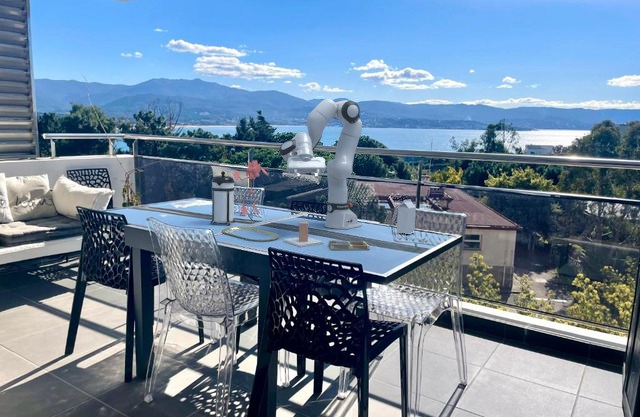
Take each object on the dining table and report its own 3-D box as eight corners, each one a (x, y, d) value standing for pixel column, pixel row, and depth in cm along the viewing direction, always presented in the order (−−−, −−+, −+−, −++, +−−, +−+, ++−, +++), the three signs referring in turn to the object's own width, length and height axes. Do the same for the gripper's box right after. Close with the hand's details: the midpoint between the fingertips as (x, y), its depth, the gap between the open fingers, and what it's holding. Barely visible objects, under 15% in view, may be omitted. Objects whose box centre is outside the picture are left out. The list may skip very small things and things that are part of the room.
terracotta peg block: (298, 239, 243) (299, 221, 242) (306, 239, 244) (307, 221, 243) (299, 241, 240) (300, 223, 238) (307, 241, 240) (308, 223, 239)
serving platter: (258, 244, 237) (258, 241, 237) (215, 232, 260) (215, 229, 260) (286, 239, 250) (286, 236, 250) (243, 228, 274) (243, 225, 274)
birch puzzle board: (328, 245, 238) (328, 238, 237) (364, 245, 241) (364, 238, 240) (331, 250, 229) (331, 243, 228) (369, 250, 232) (369, 242, 231)
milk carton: (414, 233, 274) (416, 200, 271) (407, 235, 269) (409, 201, 266) (403, 231, 279) (405, 198, 276) (396, 233, 273) (398, 199, 270)
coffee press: (242, 224, 281) (242, 172, 277) (215, 226, 272) (215, 172, 268) (229, 219, 295) (229, 169, 291) (203, 221, 286) (203, 170, 282)
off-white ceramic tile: (305, 238, 252) (305, 236, 252) (323, 243, 241) (323, 241, 241) (283, 241, 243) (283, 239, 243) (300, 247, 232) (300, 245, 232)
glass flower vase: (229, 215, 308) (230, 159, 302) (259, 211, 327) (261, 159, 321) (245, 219, 298) (247, 162, 292) (276, 215, 318) (278, 161, 312)
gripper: (323, 161, 264) (326, 181, 256) (285, 161, 260) (287, 181, 252) (325, 153, 259) (328, 173, 251) (286, 152, 255) (288, 173, 247)
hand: (307, 177), depth 251 cm, fingers open, 8 cm apart
